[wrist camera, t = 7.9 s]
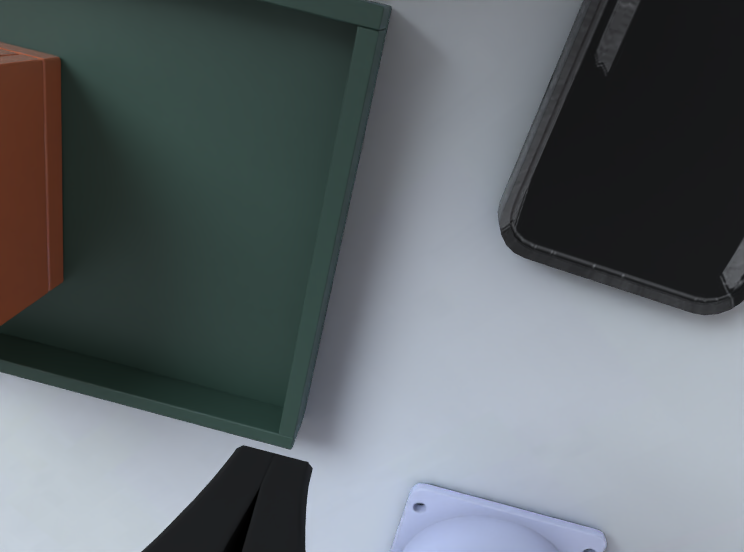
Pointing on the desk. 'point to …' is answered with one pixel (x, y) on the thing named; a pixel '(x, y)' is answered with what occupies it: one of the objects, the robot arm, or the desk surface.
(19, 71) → the planter
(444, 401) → the desk surface
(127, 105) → the tray
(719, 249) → the phone
